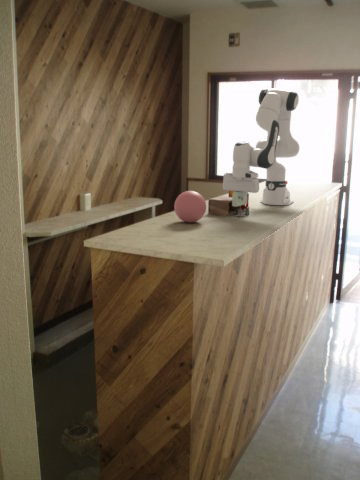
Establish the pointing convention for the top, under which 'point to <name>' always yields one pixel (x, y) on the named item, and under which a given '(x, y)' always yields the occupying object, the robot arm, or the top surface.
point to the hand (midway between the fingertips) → (240, 200)
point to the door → (238, 199)
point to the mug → (241, 205)
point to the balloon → (190, 206)
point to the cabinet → (225, 207)
